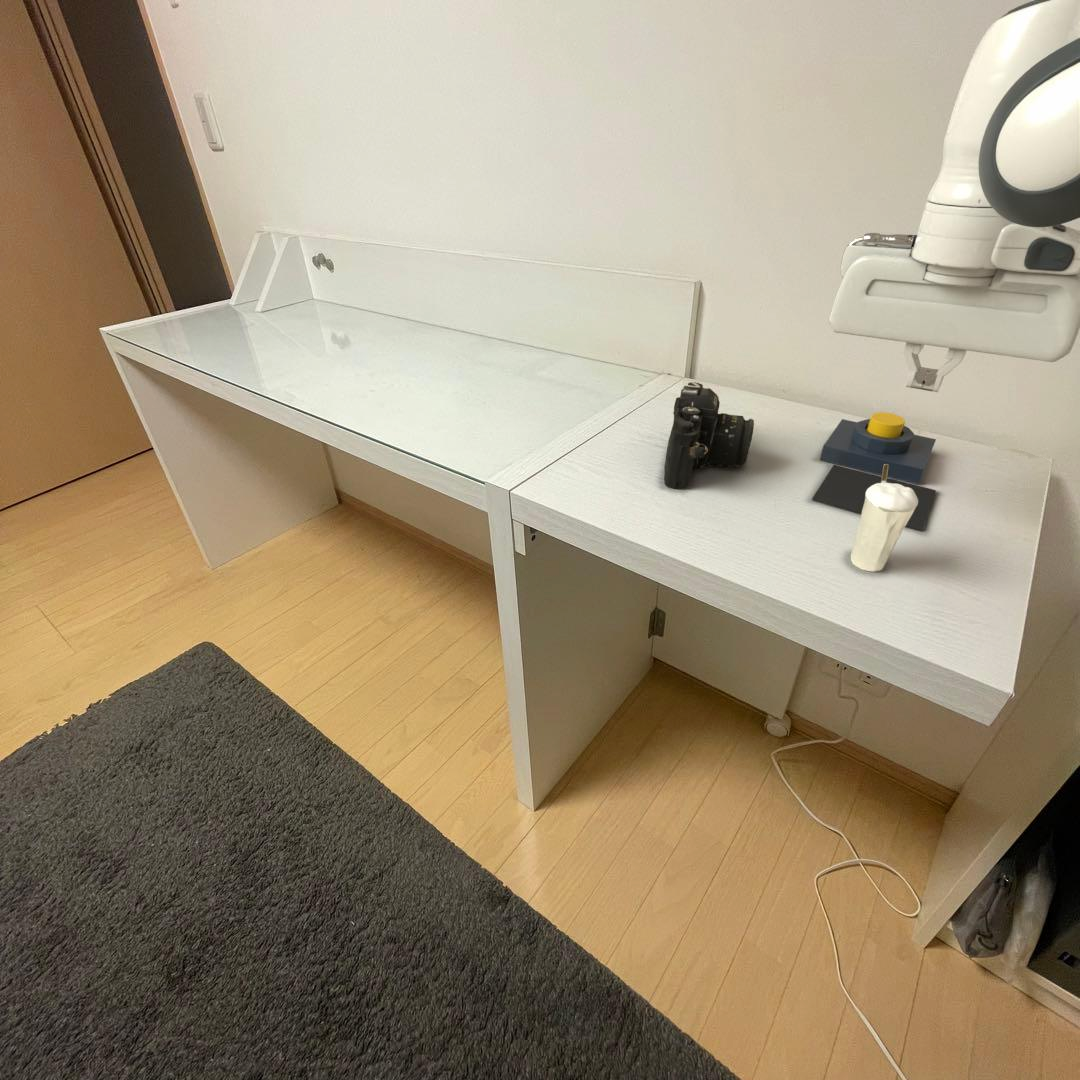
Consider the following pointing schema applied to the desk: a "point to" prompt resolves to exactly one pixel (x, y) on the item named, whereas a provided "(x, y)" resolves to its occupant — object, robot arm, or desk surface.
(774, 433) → the desk surface
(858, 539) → the milkshake
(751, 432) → the film camera
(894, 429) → the cylinder
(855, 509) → the mat
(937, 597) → the desk surface
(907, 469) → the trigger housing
